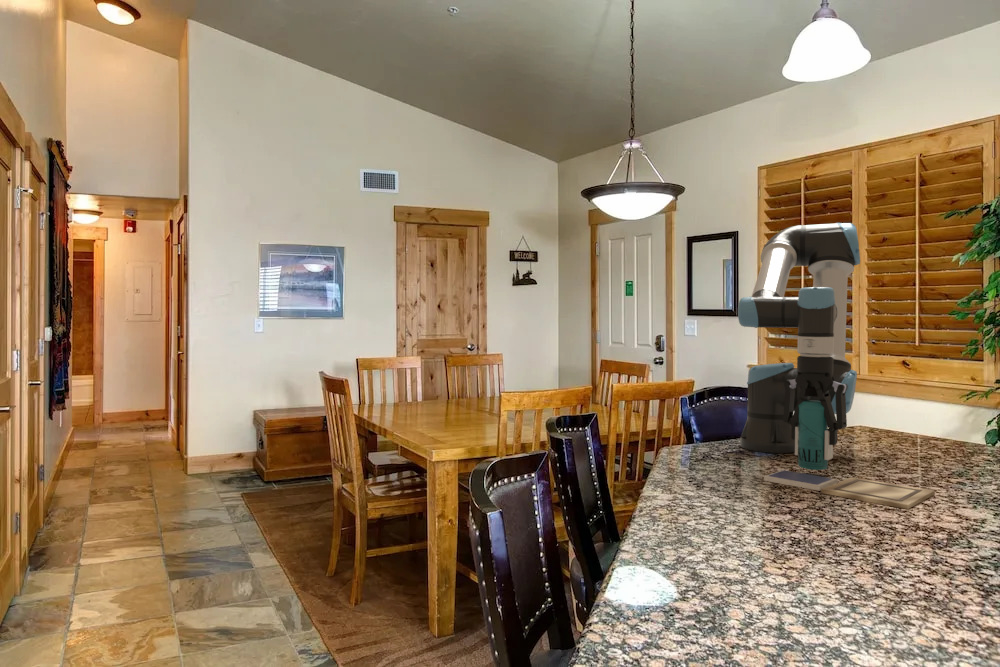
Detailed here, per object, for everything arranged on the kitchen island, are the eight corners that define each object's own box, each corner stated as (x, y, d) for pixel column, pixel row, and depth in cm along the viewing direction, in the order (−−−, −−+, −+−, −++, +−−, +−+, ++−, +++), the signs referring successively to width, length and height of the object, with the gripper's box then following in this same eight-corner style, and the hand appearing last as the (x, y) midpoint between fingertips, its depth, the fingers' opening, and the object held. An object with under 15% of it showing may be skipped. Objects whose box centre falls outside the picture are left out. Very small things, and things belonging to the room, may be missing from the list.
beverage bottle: (822, 470, 163) (823, 384, 162) (833, 477, 156) (833, 387, 155) (793, 470, 163) (793, 384, 163) (802, 476, 157) (803, 387, 156)
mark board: (821, 492, 143) (821, 488, 143) (851, 480, 154) (851, 476, 154) (908, 509, 131) (908, 504, 131) (934, 494, 142) (934, 490, 142)
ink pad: (763, 480, 154) (764, 475, 154) (782, 474, 160) (782, 469, 160) (819, 490, 145) (819, 485, 145) (836, 483, 151) (837, 478, 151)
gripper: (767, 354, 163) (765, 452, 164) (852, 358, 149) (850, 466, 150) (781, 352, 168) (780, 448, 169) (866, 356, 154) (863, 460, 155)
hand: (813, 456), depth 159 cm, fingers closed on beverage bottle, 6 cm apart
